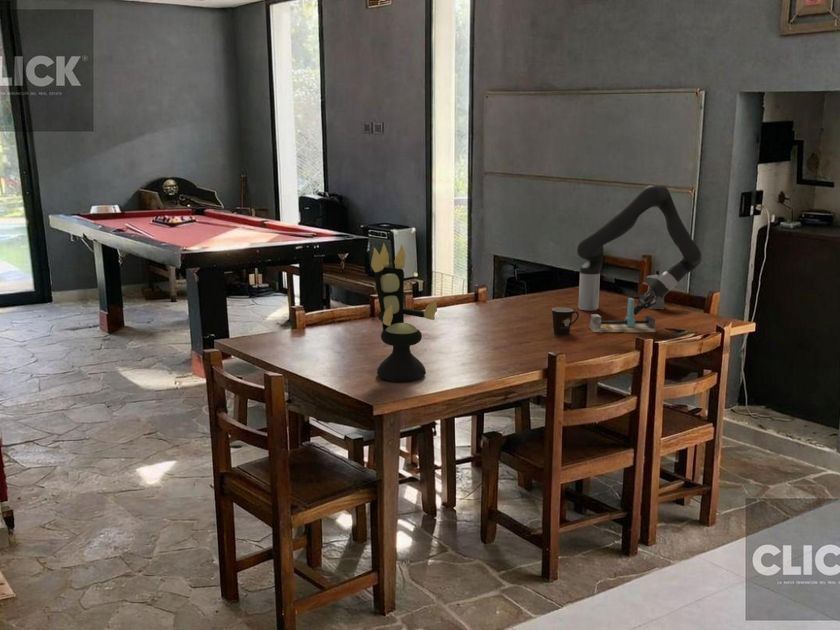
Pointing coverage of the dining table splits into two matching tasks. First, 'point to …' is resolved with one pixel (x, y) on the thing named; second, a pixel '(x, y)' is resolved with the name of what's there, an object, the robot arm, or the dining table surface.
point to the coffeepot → (650, 280)
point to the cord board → (597, 326)
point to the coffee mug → (562, 320)
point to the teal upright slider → (630, 313)
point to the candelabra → (397, 319)
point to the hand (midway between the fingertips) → (633, 313)
